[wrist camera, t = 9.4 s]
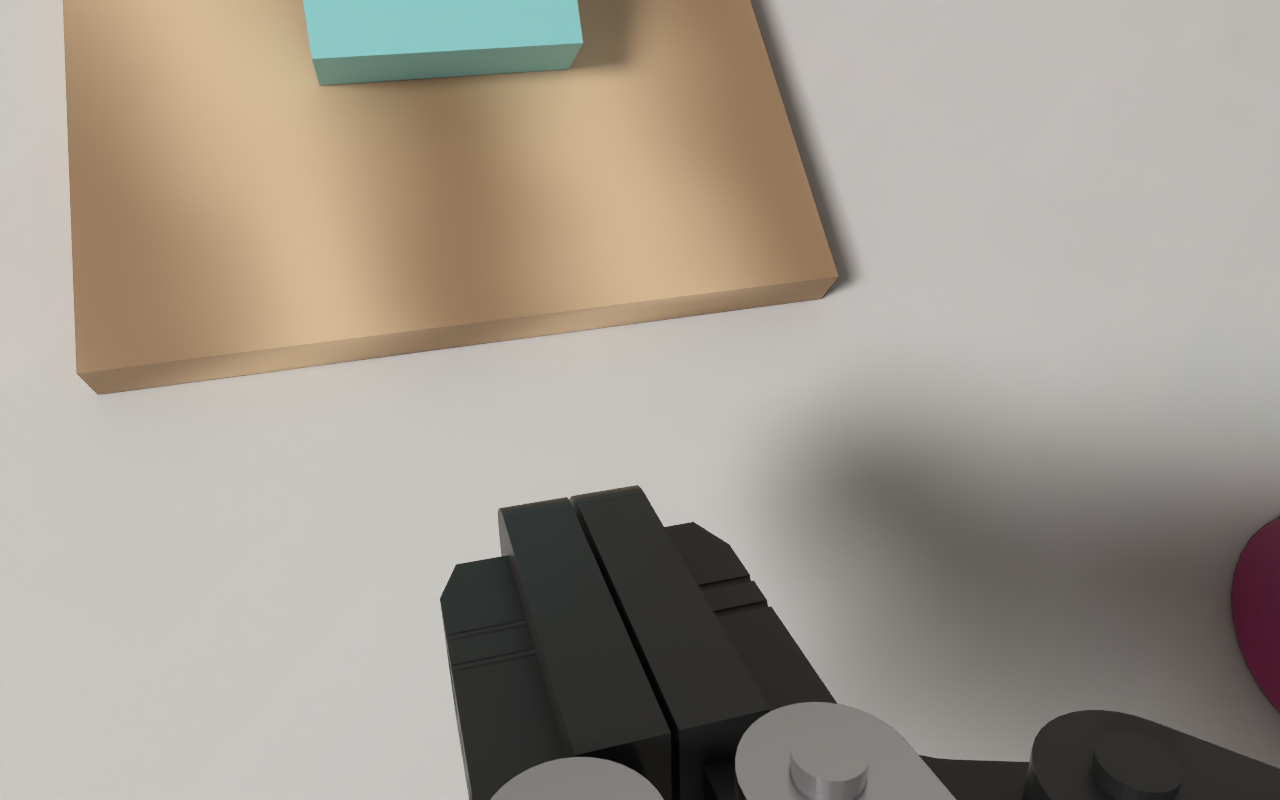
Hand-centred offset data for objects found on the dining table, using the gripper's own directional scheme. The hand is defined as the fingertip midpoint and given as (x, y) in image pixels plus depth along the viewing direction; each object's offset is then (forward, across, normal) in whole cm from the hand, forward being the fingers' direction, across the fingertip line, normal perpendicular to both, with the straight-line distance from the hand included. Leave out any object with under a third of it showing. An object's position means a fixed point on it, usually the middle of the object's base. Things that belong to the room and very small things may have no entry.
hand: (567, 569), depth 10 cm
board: (+18, 0, -8) cm, 20 cm away
